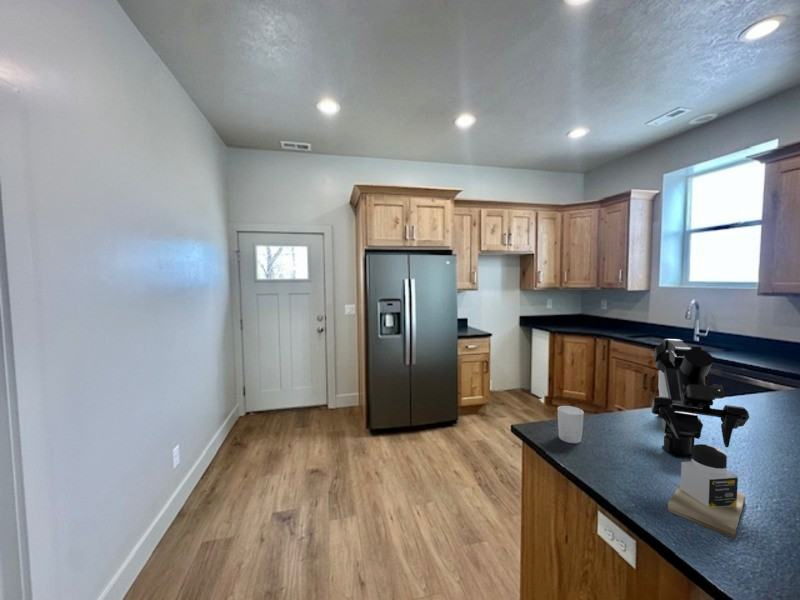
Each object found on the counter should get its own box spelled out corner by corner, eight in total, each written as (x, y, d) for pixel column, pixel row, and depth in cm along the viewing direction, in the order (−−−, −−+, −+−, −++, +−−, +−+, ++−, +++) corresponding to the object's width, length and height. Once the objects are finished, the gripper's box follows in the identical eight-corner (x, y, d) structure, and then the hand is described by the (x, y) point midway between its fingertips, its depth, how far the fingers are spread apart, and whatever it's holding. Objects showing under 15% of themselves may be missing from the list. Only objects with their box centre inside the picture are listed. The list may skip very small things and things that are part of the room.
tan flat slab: (685, 481, 90) (686, 474, 89) (745, 502, 81) (745, 494, 81) (667, 511, 78) (668, 502, 78) (734, 538, 70) (734, 528, 70)
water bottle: (652, 414, 136) (654, 352, 135) (669, 413, 136) (670, 352, 135) (667, 421, 129) (670, 356, 128) (685, 420, 129) (687, 356, 128)
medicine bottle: (709, 509, 76) (711, 456, 75) (679, 489, 83) (681, 441, 82) (737, 506, 76) (739, 454, 76) (706, 487, 84) (707, 440, 83)
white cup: (586, 445, 110) (587, 415, 110) (560, 443, 112) (561, 413, 111) (578, 434, 118) (579, 406, 117) (554, 433, 119) (555, 405, 119)
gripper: (654, 367, 93) (660, 421, 84) (748, 375, 83) (766, 437, 74) (649, 387, 100) (654, 439, 91) (734, 397, 91) (749, 456, 82)
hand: (702, 442), depth 84 cm, fingers open, 9 cm apart
